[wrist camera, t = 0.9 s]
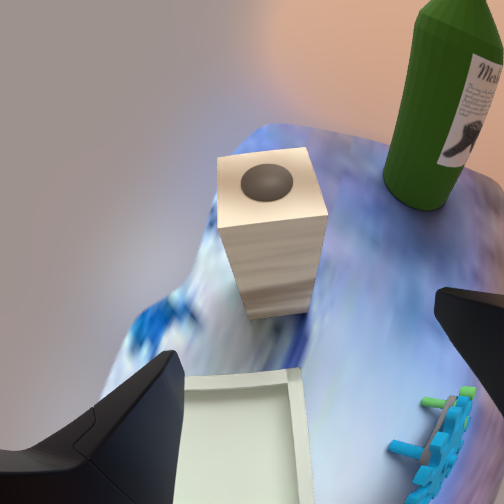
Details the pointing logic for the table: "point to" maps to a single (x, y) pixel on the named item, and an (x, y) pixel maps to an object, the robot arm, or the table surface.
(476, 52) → the wine bottle
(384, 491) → the table surface
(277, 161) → the maple block
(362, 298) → the table surface
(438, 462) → the gear
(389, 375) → the table surface
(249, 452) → the sage tray
